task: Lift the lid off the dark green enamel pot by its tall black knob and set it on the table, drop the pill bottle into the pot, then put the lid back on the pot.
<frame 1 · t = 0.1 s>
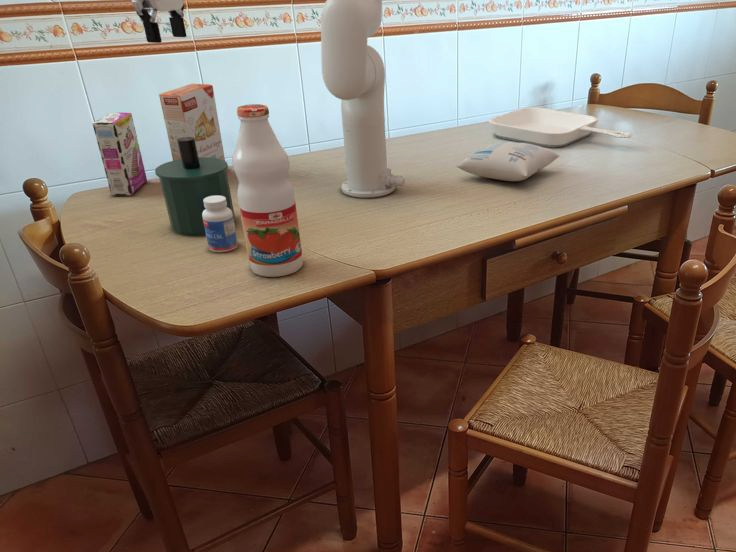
hand: (167, 39, 148), 31 cm above the table, tool pointing down, fingers open, 9 cm apart
pill bottle: (223, 248, 128), on the table
fruit juice: (277, 268, 120), on the table
pot: (204, 224, 138), on the table
lid: (192, 169, 132), point 11 cm above the table, touching pot
candy bar box: (131, 189, 157), on the table
pan: (564, 139, 199), on the table
cracker box: (204, 177, 165), on the table
pouch: (508, 177, 167), on the table
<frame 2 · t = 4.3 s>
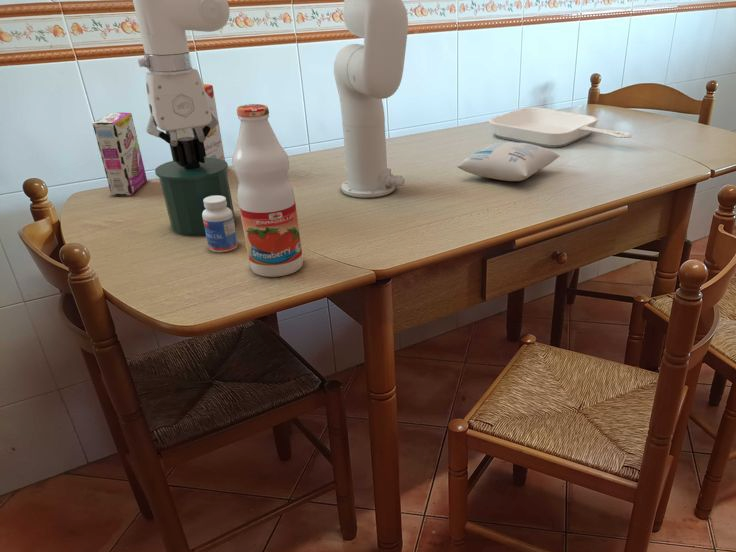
hand: (190, 162, 131), 13 cm above the table, tool pointing down, fingers closed on lid, 3 cm apart
lid: (192, 169, 132), point 12 cm above the table, touching gripper, pot
everything else where it was.
when the fingers open (2 cm above the table, at t = 12.2 s): lid stays where it is, point 1 cm above the table.
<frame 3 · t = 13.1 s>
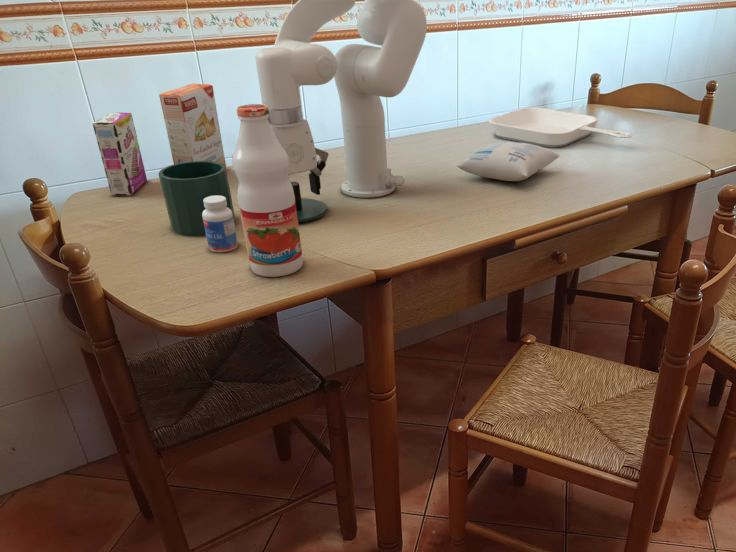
hand: (295, 197, 142), 3 cm above the table, tool pointing down, fingers open, 9 cm apart
lid: (295, 211, 143), point 1 cm above the table
everything else where it was.
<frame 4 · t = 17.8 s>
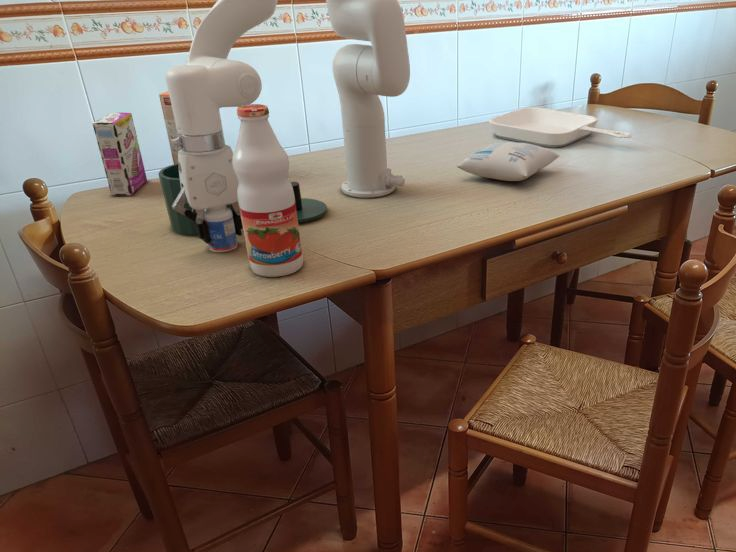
hand: (221, 236, 126), 2 cm above the table, tool pointing down, fingers closed on pill bottle, 5 cm apart
pill bottle: (223, 248, 128), on the table, touching gripper
everything else where it was.
when the fingers open (13 cm above the table, at t = 23.5 s): pill bottle drops 10 cm, resting on pot.
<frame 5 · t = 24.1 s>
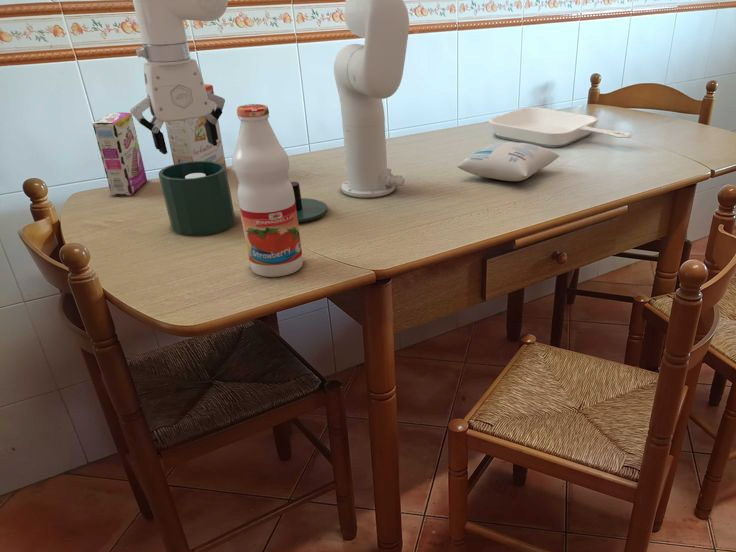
hand: (188, 148, 129), 16 cm above the table, tool pointing down, fingers open, 9 cm apart
pill bottle: (205, 222, 138), resting on pot
everything else where it was.
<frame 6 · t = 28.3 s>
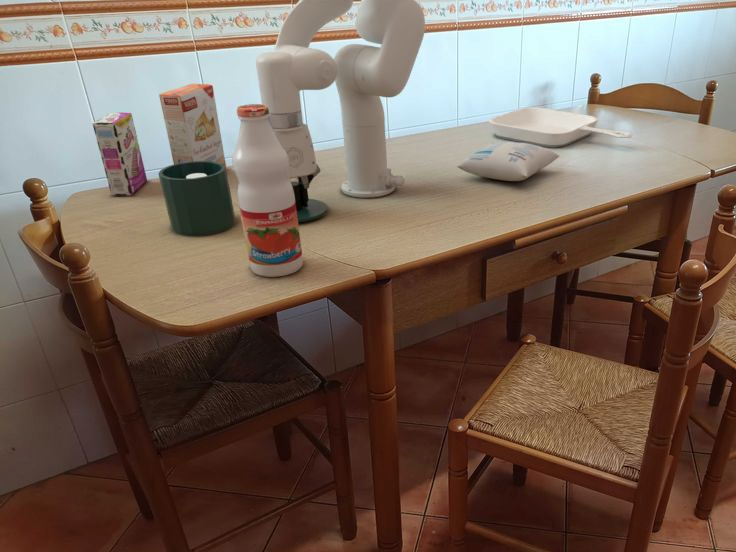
hand: (295, 206, 143), 2 cm above the table, tool pointing down, fingers closed on lid, 3 cm apart
lid: (295, 211, 143), point 1 cm above the table, touching gripper
everything else where it was.
when the fingers open (12 cm above the table, at t = 36.4 s): lid stays where it is, resting on pot.
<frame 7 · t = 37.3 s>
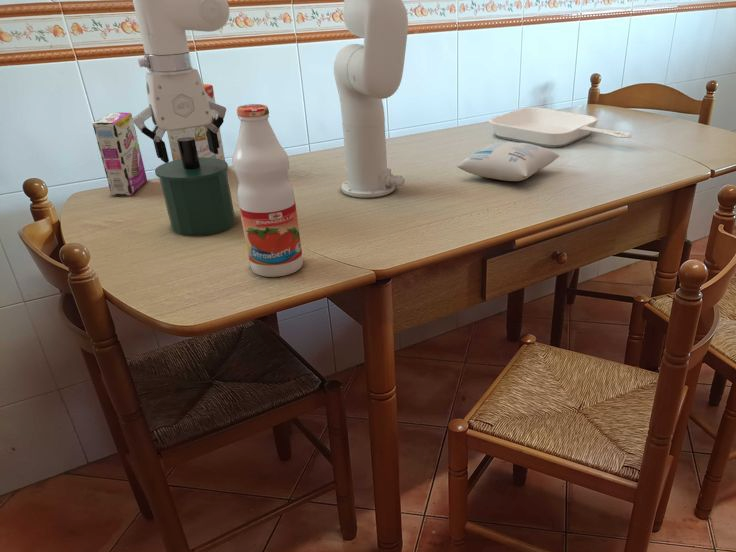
hand: (190, 156, 130), 14 cm above the table, tool pointing down, fingers open, 9 cm apart
lid: (192, 170, 131), point 11 cm above the table, touching pot
everything else where it was.
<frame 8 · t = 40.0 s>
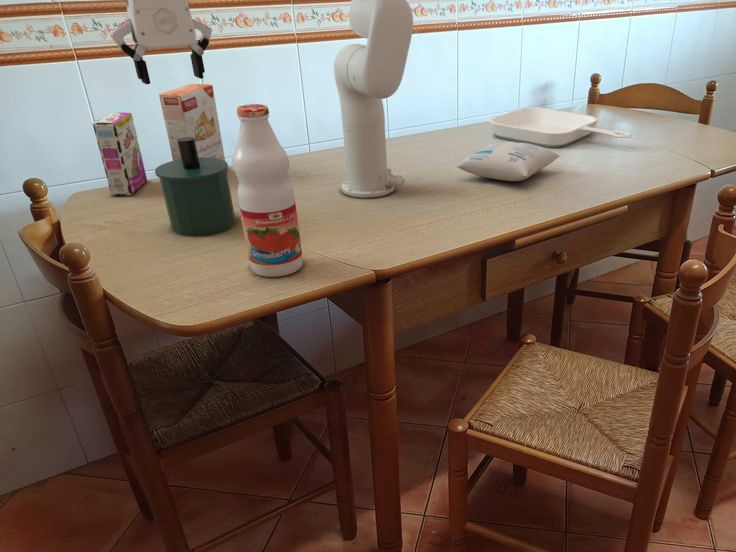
hand: (173, 80, 123), 28 cm above the table, tool pointing down, fingers open, 9 cm apart
nothing on the table moved.
at the end: pill bottle inside the target area in the pot (0.4 cm from its centre), point 0.3 cm above the pot's base; lid 0.1 cm off-centre on the pot, point 11.5 cm above the pot's base; lid tilted 0° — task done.
